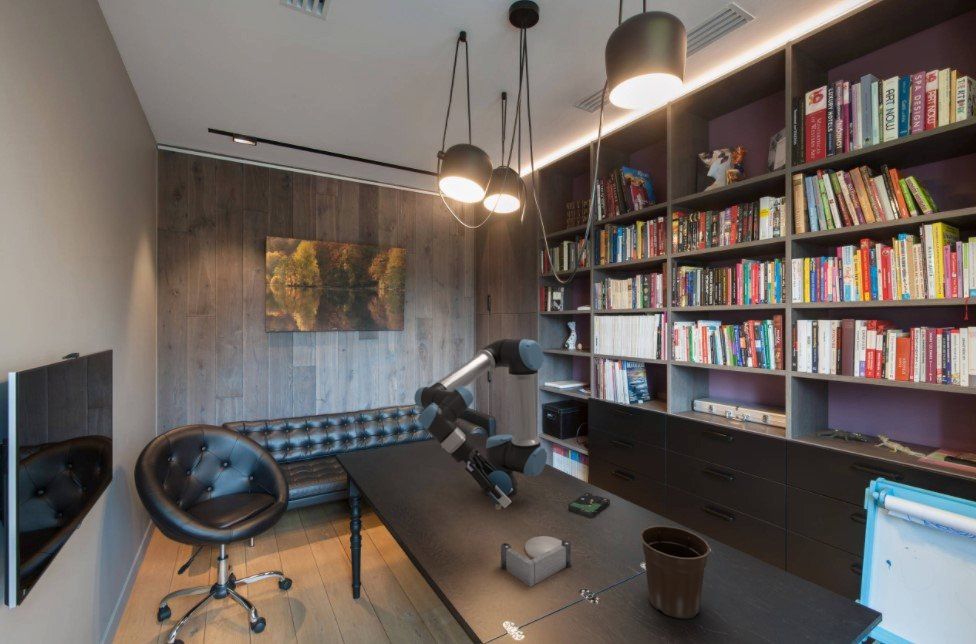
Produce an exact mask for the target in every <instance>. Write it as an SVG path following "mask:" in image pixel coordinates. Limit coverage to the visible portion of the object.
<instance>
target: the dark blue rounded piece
mask: <svg viewBox="0 0 976 644" xmlns="http://www.w3.org/2000/svg"><path fill="white" fill-rule="evenodd" d="M488 477H489V478H490V480H491V481H492V483H493V484H494V485H495V486H497V487H498V488H499V489H500V490H501V491H502V492H503V493H504V494H505V495H506V496H508V494H509V493H510V491H511V488H512V482H511V479H510V477H509V476H508V475H507V474H506V473H505V472H503V471H494V472H492V473H490V474H489V475H488ZM488 487H489V486H488ZM488 495H489V496H488ZM488 495H487V496H488V497H491V499H493V502H494V504H495V506H494V508H495V510H497V511H499V510H501V509H502V505H501V504H500V503H499V502H498V501H497V500H496V498H495V497H494V496H493V495H492V494H491V493H489V494H488Z"/></svg>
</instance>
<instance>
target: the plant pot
mask: <svg viewBox="0 0 976 644" xmlns="http://www.w3.org/2000/svg"><path fill="white" fill-rule="evenodd" d="M639 535H640V541H641V542H642V550H643V555H644V560H645V571H646V583H647V597H648V601H649V603H650V604H651V606H653V608H654V609H656V610H657V611H658V610H659V611H661V612H662V613H663V614H665V616H668V617H671V618H676V619H683V620H684V619H687V620H688V619H693V618H695V617H696V615H697V614H699V613H700V610H701V602H702V601H701V600H702V591H703V582H704V575H705V574H704V573H705V569H706V566H707V561H708V557H709V555H710V552H711V547H710V544H709V543H708V542H707V541H706V540H705V539H704V538H702V537H701V536H699V535H698V534H696V533H694V532H692V531H690V530H686V529H684V528H680V527H676V526H670V525H653V526H649V527H646V528H644V529H642V531H641V532H640V534H639Z"/></svg>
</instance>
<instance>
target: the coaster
mask: <svg viewBox="0 0 976 644" xmlns="http://www.w3.org/2000/svg"><path fill="white" fill-rule="evenodd" d="M562 541H563V540H560V539H558V538H556V537H553V536H546V535H541V536H540V535H539V536H534V537H532V538H530V539H529V538H528V540H527V541H526V542H525V543H524V550H525V553H526V555H528V556H529V557H530V558H531V559H534V558H536V557H538V556H540V555H542V554H544V553H546V552H547V551H549V550H551V549H553V548H555V547H557V546H559V545H561V544H562Z"/></svg>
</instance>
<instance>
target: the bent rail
mask: <svg viewBox="0 0 976 644" xmlns="http://www.w3.org/2000/svg"><path fill="white" fill-rule="evenodd" d="M561 541H562V544H561V545H559V546H557V547H555V548H553V549H551V550H549V551H547V552H546V553H544V554H542V555H540V556H538V557H536V558H534V559H533V558H531V559H529V558H527V557H526V556H525V555H523V554H521V553H520V552H518V551H516V550H514V549H513V548H511V545H510V543H506V542H505V543H501V545H500V569H502V570H503V571H507V572H508V573H509V574H511V575H512V576H514V577H515V578H517V579H518V580H519V581H521V582H523V583H524V584H525V585H527V586H528V587H530V588H531V587H533V586H535V585H536V584H538V583H540V582H542V581H544V580H546V579H547V578H548V577H550V576H552V575H555V574H556V573H558V572H559V571H560V570H563V569H565V568H569V567H571V566H572V542H571V541H570V540H568V539H566V540H565V539H564V540H561Z"/></svg>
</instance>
